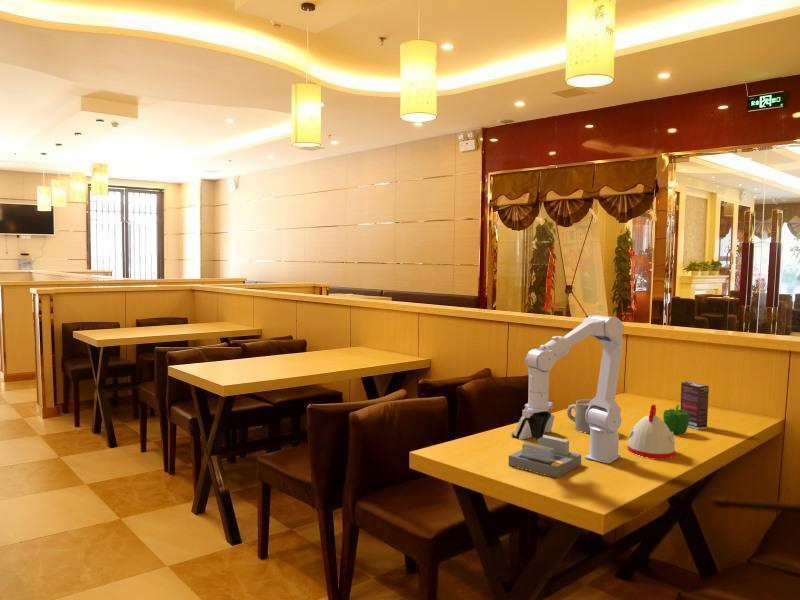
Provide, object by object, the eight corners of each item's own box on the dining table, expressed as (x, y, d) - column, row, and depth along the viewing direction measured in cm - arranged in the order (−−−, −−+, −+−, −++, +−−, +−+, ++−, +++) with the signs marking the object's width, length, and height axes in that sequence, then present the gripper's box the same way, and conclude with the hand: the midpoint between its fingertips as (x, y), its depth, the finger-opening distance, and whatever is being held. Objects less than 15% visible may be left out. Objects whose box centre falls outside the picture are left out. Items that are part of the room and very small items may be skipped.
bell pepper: (681, 437, 213) (683, 409, 212) (658, 432, 219) (660, 404, 219) (693, 433, 218) (694, 405, 218) (670, 428, 225) (671, 401, 224)
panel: (526, 465, 184) (526, 442, 183) (553, 472, 178) (554, 448, 177) (521, 467, 182) (522, 444, 181) (549, 474, 176) (550, 450, 175)
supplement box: (707, 429, 224) (709, 385, 223) (697, 430, 222) (699, 386, 221) (688, 423, 232) (690, 381, 231) (678, 424, 230) (680, 382, 229)
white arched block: (539, 428, 224) (548, 404, 220) (549, 435, 220) (558, 411, 217) (509, 436, 213) (518, 411, 210) (519, 444, 209) (528, 418, 206)
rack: (534, 453, 195) (534, 431, 194) (581, 464, 184) (581, 441, 184) (508, 465, 183) (509, 442, 182) (556, 478, 173) (557, 453, 172)
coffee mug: (609, 430, 221) (610, 403, 220) (594, 435, 215) (594, 407, 214) (577, 422, 231) (578, 396, 231) (561, 427, 225) (562, 400, 224)
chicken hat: (677, 450, 200) (679, 404, 198) (671, 462, 188) (673, 413, 187) (632, 443, 207) (633, 398, 206) (624, 454, 195) (625, 407, 194)
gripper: (538, 385, 186) (537, 429, 187) (513, 393, 175) (512, 440, 176) (559, 388, 182) (558, 434, 183) (535, 396, 171) (534, 445, 172)
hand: (537, 437), depth 179 cm, fingers closed
